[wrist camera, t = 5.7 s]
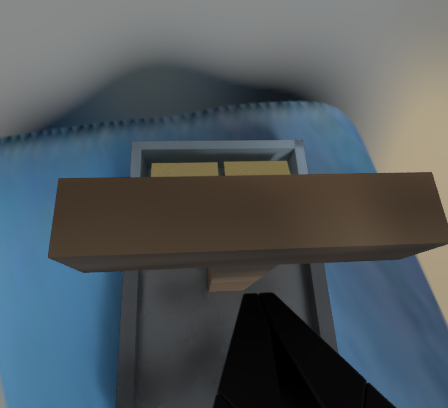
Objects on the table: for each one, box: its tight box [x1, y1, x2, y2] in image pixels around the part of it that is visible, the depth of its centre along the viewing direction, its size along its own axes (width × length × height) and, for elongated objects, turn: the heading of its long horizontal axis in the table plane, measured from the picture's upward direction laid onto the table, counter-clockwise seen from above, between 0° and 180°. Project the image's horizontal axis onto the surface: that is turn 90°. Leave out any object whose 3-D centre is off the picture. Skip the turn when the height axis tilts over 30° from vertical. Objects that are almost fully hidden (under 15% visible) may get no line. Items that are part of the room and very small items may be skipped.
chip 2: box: [223, 161, 291, 176], centre depth 20 cm, size 4×4×3 cm
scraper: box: [48, 172, 448, 292], centre depth 13 cm, size 3×10×11 cm, turn 93°
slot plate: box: [116, 263, 338, 408], centre depth 18 cm, size 10×11×3 cm
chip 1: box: [151, 162, 219, 177], centre depth 20 cm, size 4×4×3 cm
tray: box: [130, 140, 308, 177], centre depth 21 cm, size 6×11×3 cm, turn 93°
